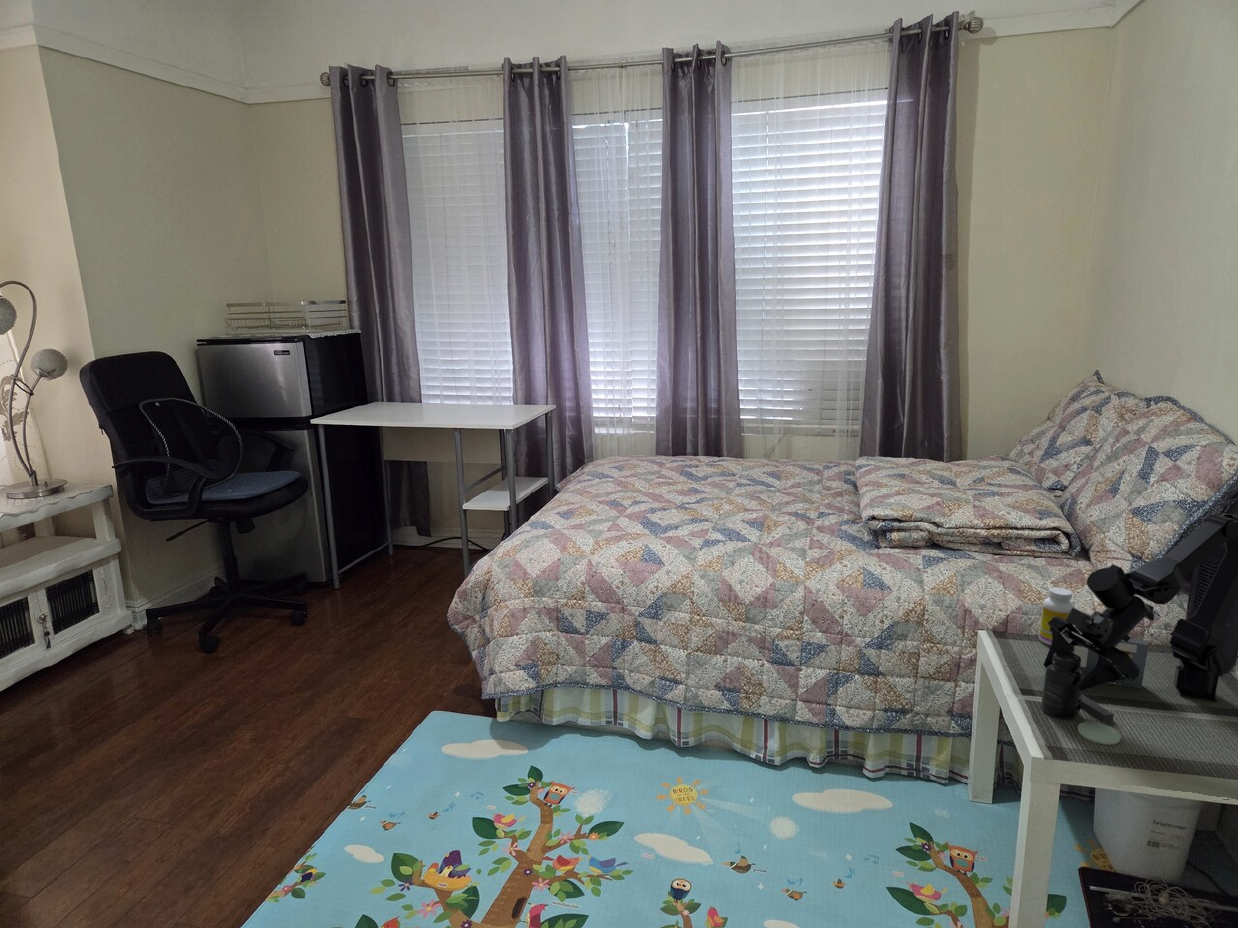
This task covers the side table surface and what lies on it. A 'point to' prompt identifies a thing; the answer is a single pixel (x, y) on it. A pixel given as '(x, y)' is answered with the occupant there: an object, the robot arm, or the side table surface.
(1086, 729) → the pad
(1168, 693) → the side table surface
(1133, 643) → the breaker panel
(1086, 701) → the dark grey slat
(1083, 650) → the paddle
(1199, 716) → the side table surface
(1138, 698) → the side table surface
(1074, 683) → the supplement bottle
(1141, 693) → the side table surface
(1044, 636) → the supplement bottle
